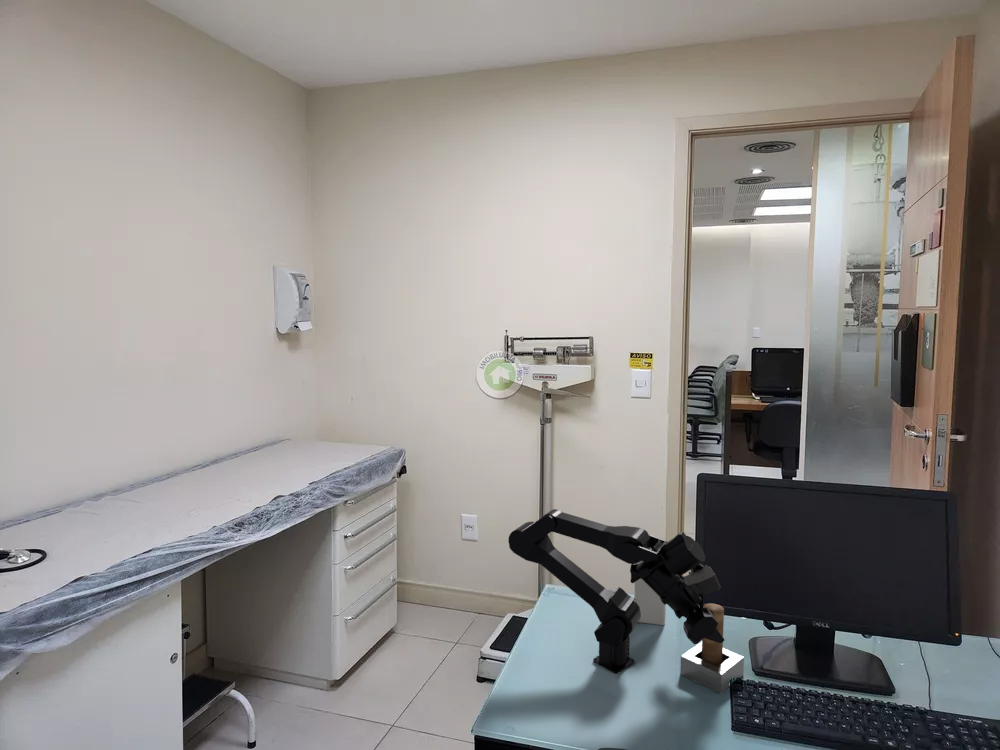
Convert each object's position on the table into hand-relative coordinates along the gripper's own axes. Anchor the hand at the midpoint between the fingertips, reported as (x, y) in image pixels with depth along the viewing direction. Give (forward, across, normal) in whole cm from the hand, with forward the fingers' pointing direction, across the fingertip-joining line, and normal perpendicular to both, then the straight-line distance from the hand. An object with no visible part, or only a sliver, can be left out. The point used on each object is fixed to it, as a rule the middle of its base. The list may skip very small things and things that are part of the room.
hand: (719, 635), depth 128 cm
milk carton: (0, +24, +13) cm, 27 cm away
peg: (+4, 0, +6) cm, 7 cm away
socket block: (+5, 0, +7) cm, 9 cm away
